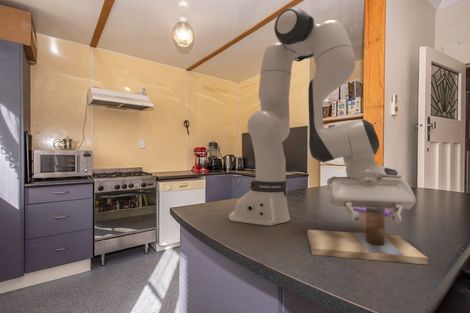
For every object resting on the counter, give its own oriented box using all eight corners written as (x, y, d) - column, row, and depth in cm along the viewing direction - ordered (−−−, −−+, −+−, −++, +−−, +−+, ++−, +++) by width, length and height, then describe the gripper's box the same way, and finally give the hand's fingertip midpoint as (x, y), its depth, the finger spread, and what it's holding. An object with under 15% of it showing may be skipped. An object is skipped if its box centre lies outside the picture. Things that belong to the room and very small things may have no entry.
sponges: (358, 209, 103) (358, 204, 103) (391, 214, 94) (391, 209, 94) (352, 212, 98) (352, 207, 98) (388, 217, 89) (388, 212, 89)
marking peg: (369, 244, 58) (369, 208, 58) (363, 238, 62) (364, 205, 62) (387, 246, 57) (387, 209, 57) (380, 240, 61) (381, 205, 61)
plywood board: (312, 254, 56) (312, 247, 56) (307, 234, 70) (307, 229, 70) (427, 264, 51) (427, 257, 51) (398, 240, 65) (398, 235, 65)
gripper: (327, 169, 68) (334, 211, 59) (407, 171, 64) (428, 216, 54) (325, 183, 73) (330, 224, 63) (399, 185, 68) (417, 229, 59)
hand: (376, 220), depth 59 cm, fingers open, 8 cm apart
